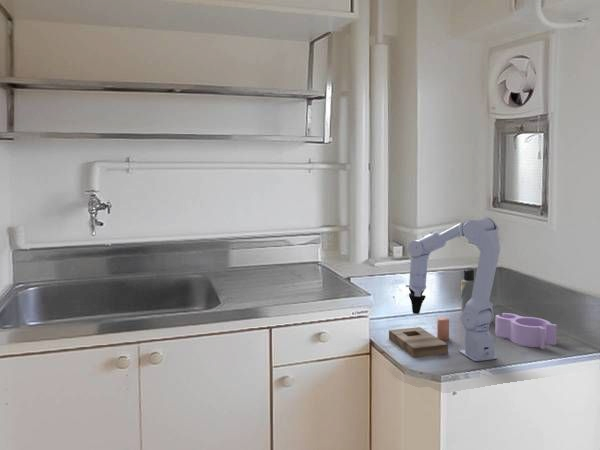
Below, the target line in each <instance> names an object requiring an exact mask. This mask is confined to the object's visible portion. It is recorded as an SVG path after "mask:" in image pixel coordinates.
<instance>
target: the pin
mask: <svg viewBox="0 0 600 450" xmlns="http://www.w3.org/2000/svg"><path fill="white" fill-rule="evenodd" d="M436 322H437V323H436V324H437V326H436V327H437V332H436V333H437V334H436V335H437V336H436V337H437V338H438V339H440V340H442V341H449V340H450V318H447V317H438V318H437V319H436Z"/></svg>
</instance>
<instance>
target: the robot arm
mask: <svg viewBox="0 0 600 450" xmlns="http://www.w3.org/2000/svg"><path fill="white" fill-rule="evenodd" d="M499 229H500V228H499V226H498V224H496V222H495V220H493V219H492V218H490V217H482V218H477V219H467V220H465V221H462V222H459V223H458V224H456V225H453V226H451V227H450V228H448V229H446V230H444V231H442V232H441V231H438V230H431V231H429V234H427V235H425V236H424V235H422V236H420V238H419V239H413V240H411V241H410V242H409V243H408V246H407V249H408V250H407V251H408V254H410V268H409V270H410V271H409V283H405V288H408V289H409V292H410V293H408V297H409V299H410V303H411V309H412V311H411V312H412V314H413V315H420V314H421V313H420V312H421V308H422V305H423V303H424V301H425V299H426V296H427V295H424V294H423V293H424V292H425V290H426V289H427V273H428V260H429V258H430V257H429V256H430V255H431V253H432V252H436V251H438V250H439V249H442V248H443V247H445V245H446V243H447V242H448V241H451V240H453V239H456V238H458V237H460V236H461V237H465V238H466V239H467V240H468V241H469V242H471V243H472V244H473V245H474V246H476V248H477V249H478V250H479V251H480V253H479V258H478V263H477V268H476V272H475V276H474V280H475V282H474V287H473V292H472V297H471V299H470V300H469V301H468V302H467V304H466V305H465V309H464V311H463V312H462V313H461V312H460V322H461V324H462V326H463V328H464V349H460V350H459V353H461V354H463V355H464V356H466V357H467V358H469V359H470V360H472V361H474V362H481V361H488V360H489V361H490V360H496V359H497V358H498V357H497V356H495V355H496V354H495V351H496V349H495V348H496V347H495V346H496V345H495V344H496V343H495V342H496V341H495V339H496V338H495V337H494V336H493V335H492V333H491V332H490V324H491V323H492V322H493V320H494V311H493V307H494V304H493V303H492V302H491V301H490V300H491V299H490V298H491V294H492V291H493V290H492V289H493V284H494V279H495V276H496V275H495V274H496V270H497V265H498V260H499V256H500V251H501V245H500V239H499V235H498V233H499Z"/></svg>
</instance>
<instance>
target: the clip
mask: <svg viewBox="0 0 600 450" xmlns="http://www.w3.org/2000/svg"><path fill="white" fill-rule="evenodd" d="M500 315H502V316H500ZM494 325H495V328H494V329H495V332H494V333H495V336H497V337H499V338H504V339H509V340H510V341H511V342H512V343H514V344H517V345H519V346H522V347H531V348H539V349H542V350H545V349H546V345H552V346H556V345H557V329H558V328H557V324H556V323H551V322H550V321H548V320H546V319H543V318H539V317H533V316H522V315H518V314H516V313H509V312H508V313H507V312H502V314H496V315H495V324H494Z"/></svg>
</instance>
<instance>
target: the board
mask: <svg viewBox="0 0 600 450" xmlns="http://www.w3.org/2000/svg"><path fill="white" fill-rule="evenodd" d="M388 339H389V340H390V341H392V342H393V343H394V344H395V345H397V346H398V347H399V348H401V349H402V350H404V351H405V352H406V353H408V354H409V355H410V356H411V357H413V358H419V357H428V356H435V355H436V356H437V355H444V354H446V355H447V354H448V353H449V351H448V350H449V344H448V343H446V342H445V341H444V340H440V339H438V338H437V336H435V335H434V334H432V333H430V331H429V332H428V331H427V330H425V328H422V327H421V326H417V327H407V328H397V329H390V330H389V329H388Z"/></svg>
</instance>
